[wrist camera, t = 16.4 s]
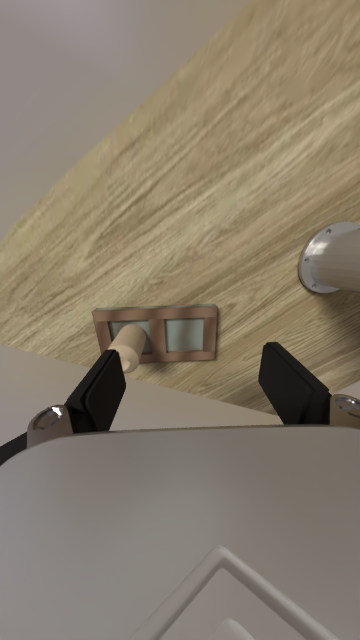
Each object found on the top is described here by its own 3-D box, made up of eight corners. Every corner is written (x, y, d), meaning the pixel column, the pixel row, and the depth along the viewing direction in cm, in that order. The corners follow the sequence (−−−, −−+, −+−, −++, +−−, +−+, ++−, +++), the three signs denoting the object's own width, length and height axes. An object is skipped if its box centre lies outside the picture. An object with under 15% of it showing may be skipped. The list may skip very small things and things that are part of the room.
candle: (138, 351, 36) (126, 385, 27) (114, 339, 35) (94, 370, 26) (151, 332, 35) (143, 360, 25) (127, 318, 33) (110, 343, 24)
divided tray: (214, 303, 34) (218, 307, 32) (212, 353, 39) (214, 360, 36) (96, 308, 34) (90, 312, 31) (107, 358, 38) (103, 365, 36)
